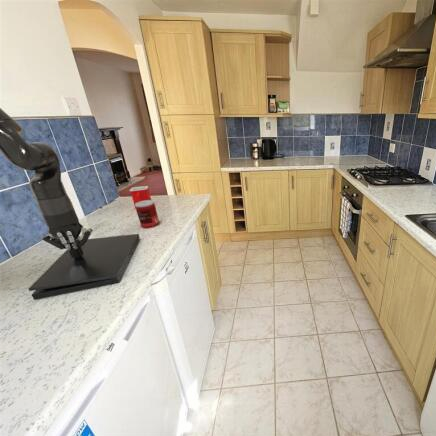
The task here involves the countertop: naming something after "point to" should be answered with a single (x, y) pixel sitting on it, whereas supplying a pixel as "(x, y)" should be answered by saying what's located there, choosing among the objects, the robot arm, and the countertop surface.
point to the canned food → (147, 213)
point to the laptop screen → (88, 263)
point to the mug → (140, 194)
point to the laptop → (83, 286)
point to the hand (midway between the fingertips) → (78, 257)
